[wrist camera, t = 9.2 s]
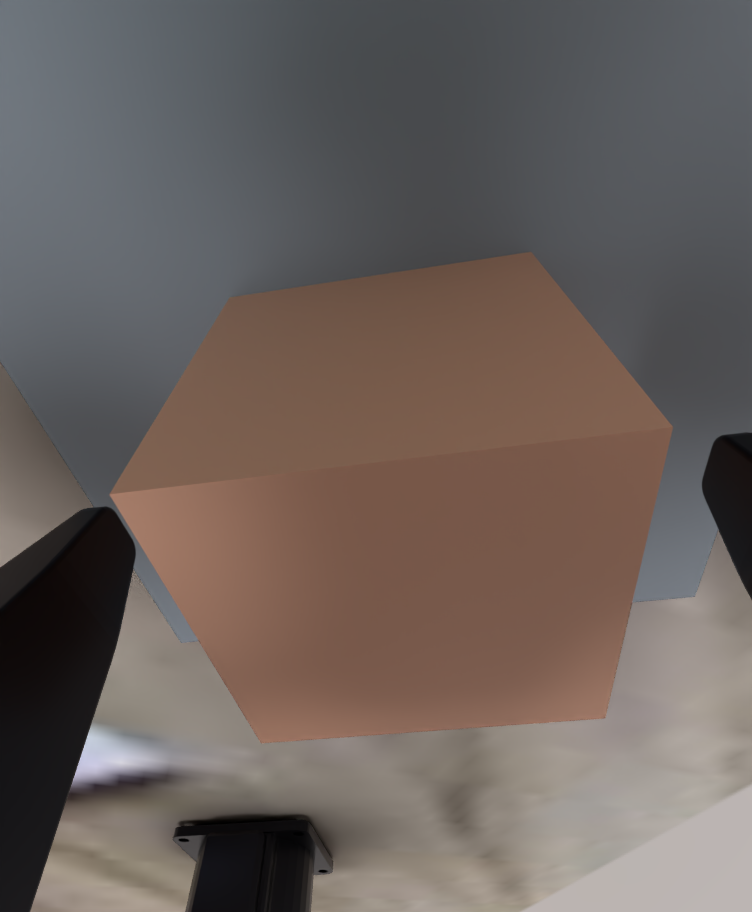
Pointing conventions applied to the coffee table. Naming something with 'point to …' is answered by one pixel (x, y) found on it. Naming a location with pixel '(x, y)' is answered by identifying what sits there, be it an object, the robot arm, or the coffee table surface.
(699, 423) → the slate mat
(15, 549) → the coffee table surface
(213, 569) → the terracotta cube
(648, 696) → the coffee table surface
